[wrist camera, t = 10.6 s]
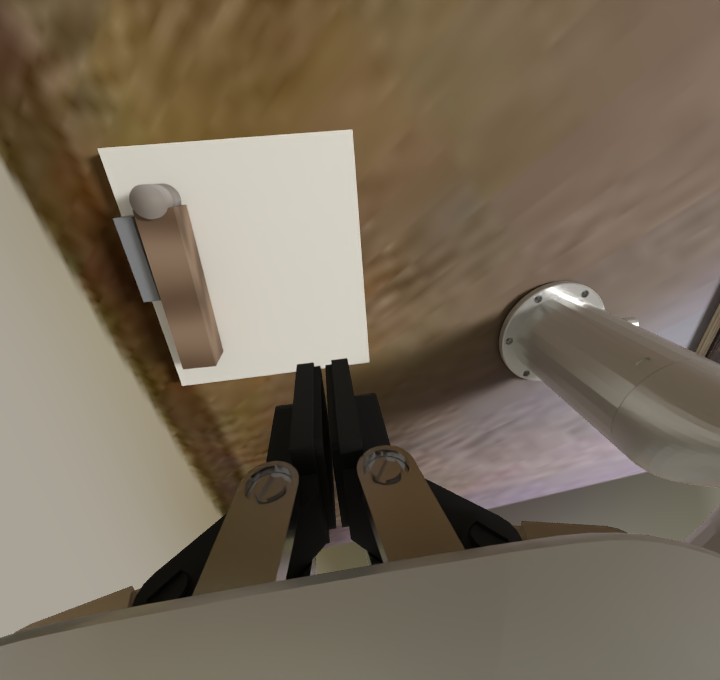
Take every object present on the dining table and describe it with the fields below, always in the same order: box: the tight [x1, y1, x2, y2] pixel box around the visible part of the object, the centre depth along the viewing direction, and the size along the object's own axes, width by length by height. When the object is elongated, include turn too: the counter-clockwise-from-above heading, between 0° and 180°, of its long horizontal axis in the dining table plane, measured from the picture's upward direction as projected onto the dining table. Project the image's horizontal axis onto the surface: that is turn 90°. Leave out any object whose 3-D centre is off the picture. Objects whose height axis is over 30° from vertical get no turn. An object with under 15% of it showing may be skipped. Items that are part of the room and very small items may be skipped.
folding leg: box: [129, 184, 223, 369], centre depth 30 cm, size 16×3×4 cm, turn 3°
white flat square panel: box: [97, 130, 369, 386], centre depth 32 cm, size 20×22×4 cm
